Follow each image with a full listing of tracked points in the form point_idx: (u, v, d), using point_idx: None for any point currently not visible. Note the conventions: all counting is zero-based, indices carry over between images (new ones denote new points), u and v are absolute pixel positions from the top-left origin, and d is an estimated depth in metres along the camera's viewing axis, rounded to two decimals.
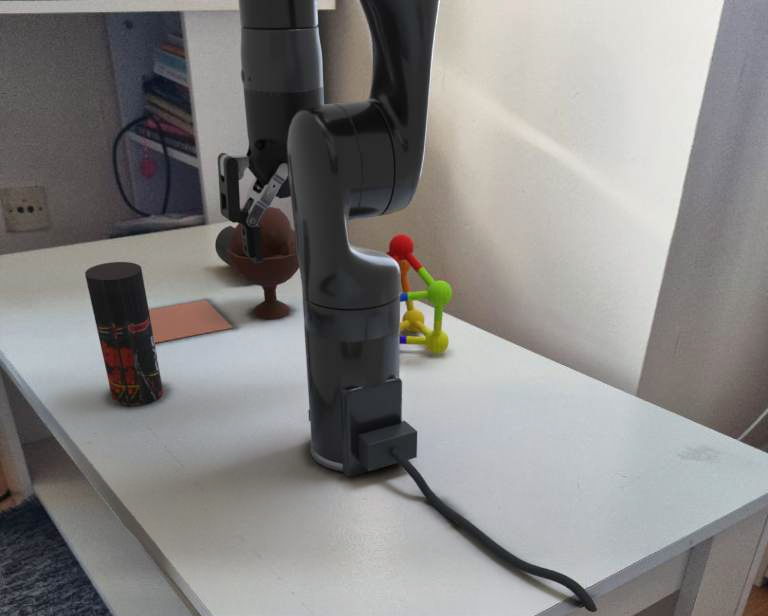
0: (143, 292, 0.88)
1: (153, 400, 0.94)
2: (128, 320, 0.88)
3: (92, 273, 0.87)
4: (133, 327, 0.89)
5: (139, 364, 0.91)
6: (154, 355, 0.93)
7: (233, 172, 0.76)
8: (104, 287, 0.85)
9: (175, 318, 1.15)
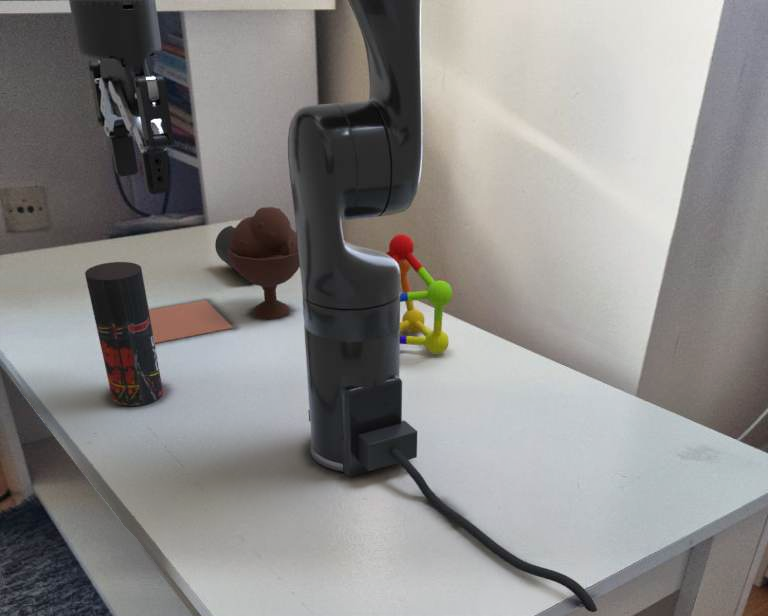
0: (143, 292, 0.88)
1: (153, 400, 0.94)
2: (128, 320, 0.88)
3: (92, 273, 0.87)
4: (133, 327, 0.89)
5: (139, 364, 0.91)
6: (154, 355, 0.93)
7: (92, 76, 0.80)
8: (104, 287, 0.85)
9: (175, 318, 1.15)
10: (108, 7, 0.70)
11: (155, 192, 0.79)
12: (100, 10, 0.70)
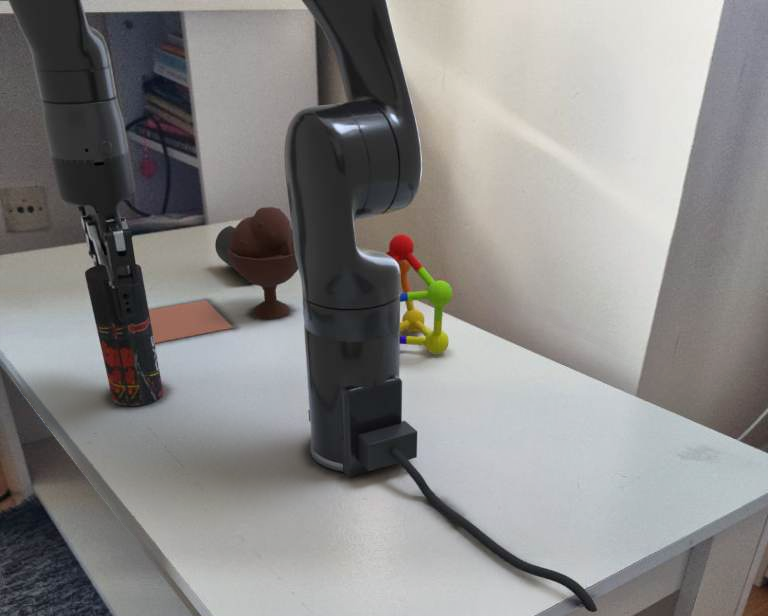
0: (143, 292, 0.88)
1: (153, 400, 0.94)
2: None
3: (92, 273, 0.87)
4: (133, 327, 0.89)
5: (139, 364, 0.91)
6: (154, 355, 0.93)
7: (81, 215, 0.89)
8: (103, 287, 0.85)
9: (175, 318, 1.15)
10: (81, 165, 0.78)
11: (125, 320, 0.87)
12: (74, 167, 0.78)
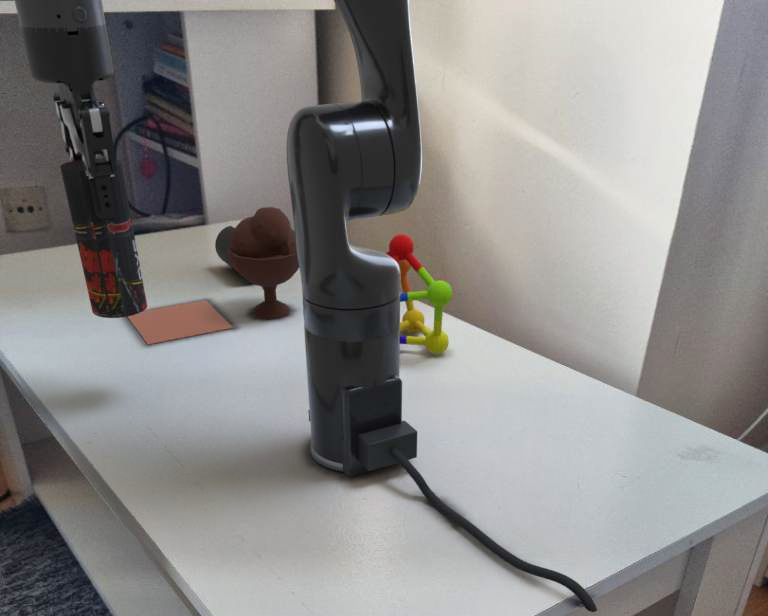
0: (123, 189, 0.82)
1: (136, 312, 0.88)
2: None
3: (68, 166, 0.80)
4: (113, 226, 0.82)
5: (120, 269, 0.85)
6: (137, 262, 0.86)
7: None
8: (80, 179, 0.79)
9: (175, 318, 1.15)
10: (53, 33, 0.71)
11: (104, 217, 0.81)
12: (45, 36, 0.71)
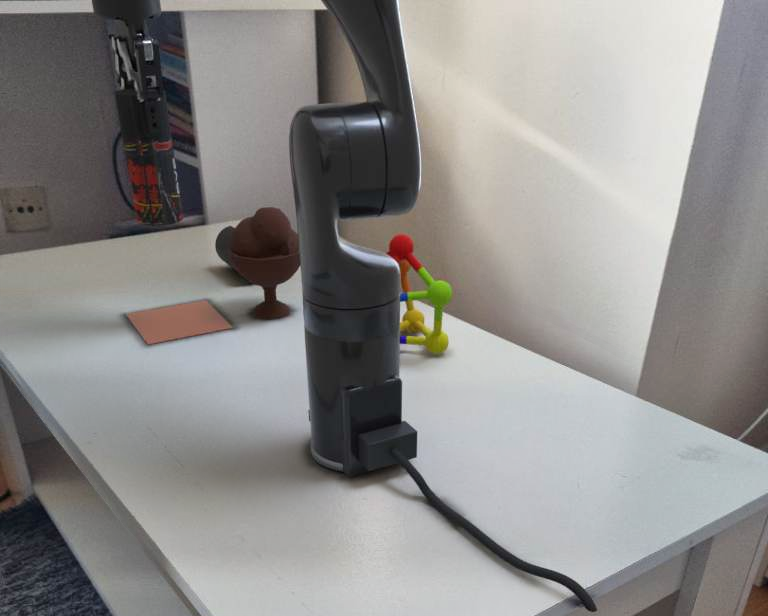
0: (166, 113, 0.98)
1: (174, 221, 1.04)
2: (153, 137, 0.97)
3: (120, 92, 0.96)
4: (157, 145, 0.98)
5: (162, 183, 1.00)
6: (175, 177, 1.02)
7: (111, 43, 0.98)
8: (131, 102, 0.95)
9: (175, 318, 1.15)
10: None
11: (150, 136, 0.96)
12: None
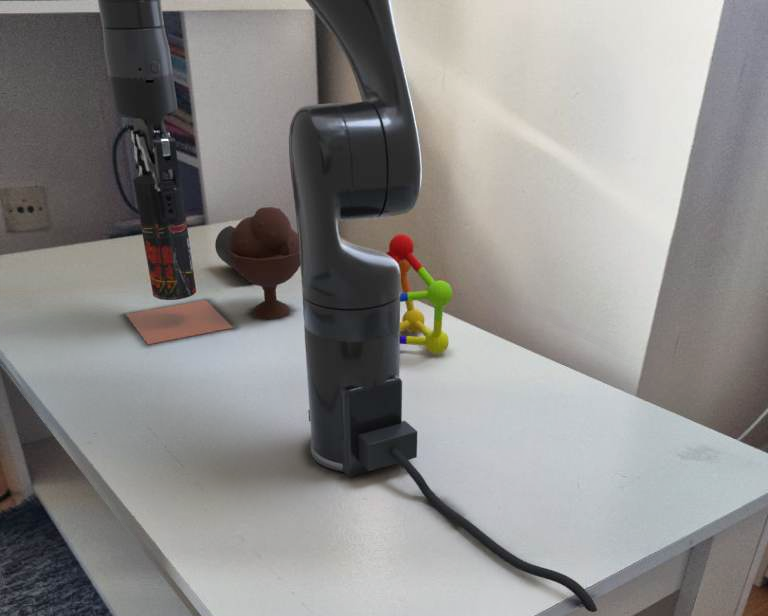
0: (181, 198, 1.05)
1: (188, 295, 1.11)
2: None
3: (139, 180, 1.03)
4: (173, 227, 1.05)
5: (177, 261, 1.07)
6: (189, 255, 1.09)
7: (130, 133, 1.05)
8: (149, 191, 1.02)
9: (175, 318, 1.15)
10: (135, 82, 0.94)
11: (167, 221, 1.03)
12: (129, 84, 0.94)
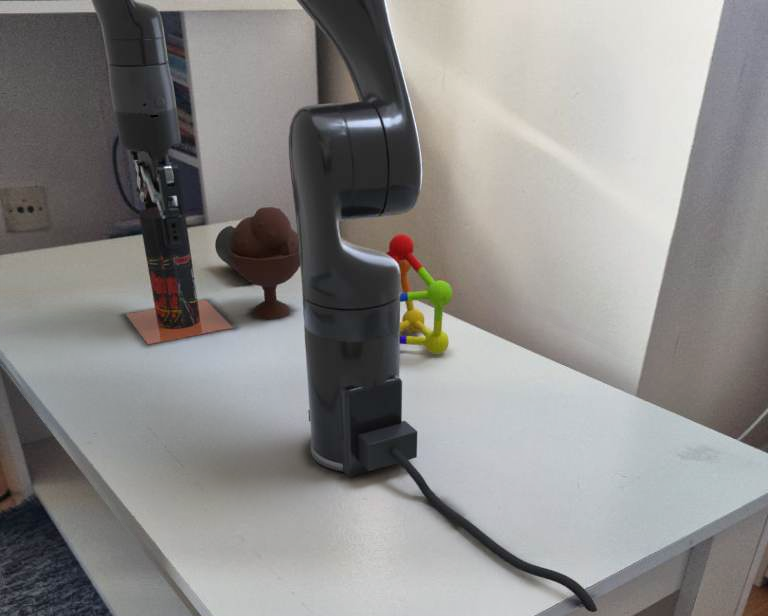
0: (186, 230, 1.07)
1: (192, 324, 1.13)
2: (174, 253, 1.06)
3: (144, 213, 1.05)
4: (177, 259, 1.07)
5: (181, 292, 1.10)
6: (193, 285, 1.11)
7: (132, 158, 1.07)
8: (155, 224, 1.04)
9: None
10: (139, 117, 0.96)
11: (172, 247, 1.04)
12: (134, 118, 0.96)
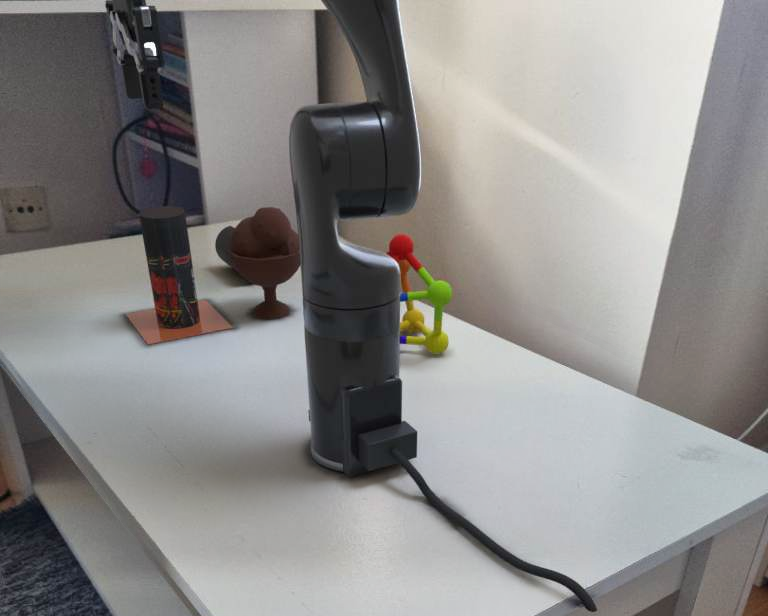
0: (186, 230, 1.07)
1: (192, 324, 1.13)
2: (174, 253, 1.06)
3: (144, 214, 1.05)
4: (178, 259, 1.07)
5: (181, 292, 1.10)
6: (193, 285, 1.11)
7: (108, 13, 0.97)
8: (155, 224, 1.04)
9: None
10: None
11: (151, 107, 0.95)
12: None
